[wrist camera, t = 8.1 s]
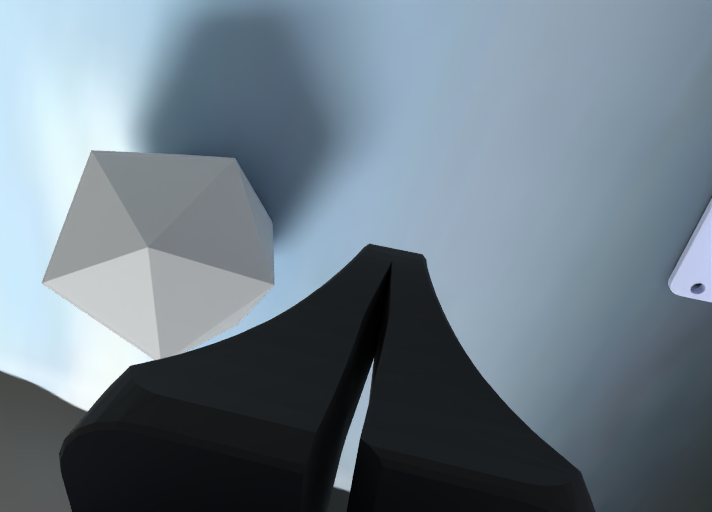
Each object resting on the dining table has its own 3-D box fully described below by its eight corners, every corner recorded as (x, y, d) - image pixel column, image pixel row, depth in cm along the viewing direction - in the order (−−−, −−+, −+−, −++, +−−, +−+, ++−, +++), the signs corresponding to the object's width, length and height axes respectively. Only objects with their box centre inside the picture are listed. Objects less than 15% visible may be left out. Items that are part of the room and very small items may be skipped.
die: (109, 201, 26) (77, 392, 22) (50, 75, 19) (-17, 327, 14) (271, 207, 28) (270, 386, 24) (277, 92, 20) (277, 325, 16)
